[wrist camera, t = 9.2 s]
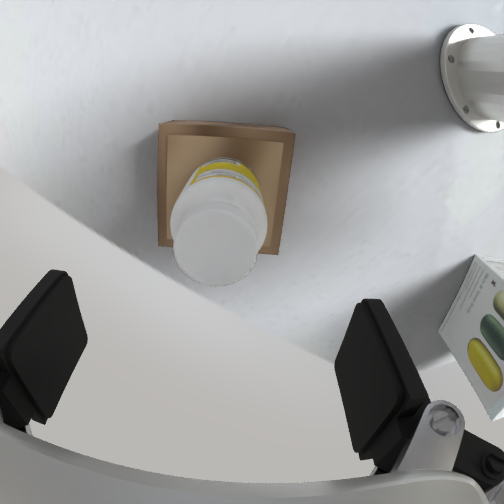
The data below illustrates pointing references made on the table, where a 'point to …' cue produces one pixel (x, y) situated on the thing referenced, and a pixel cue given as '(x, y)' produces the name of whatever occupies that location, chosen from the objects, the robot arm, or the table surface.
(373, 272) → the table surface
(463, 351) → the supplement box
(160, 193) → the brown square tray
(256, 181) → the supplement bottle
